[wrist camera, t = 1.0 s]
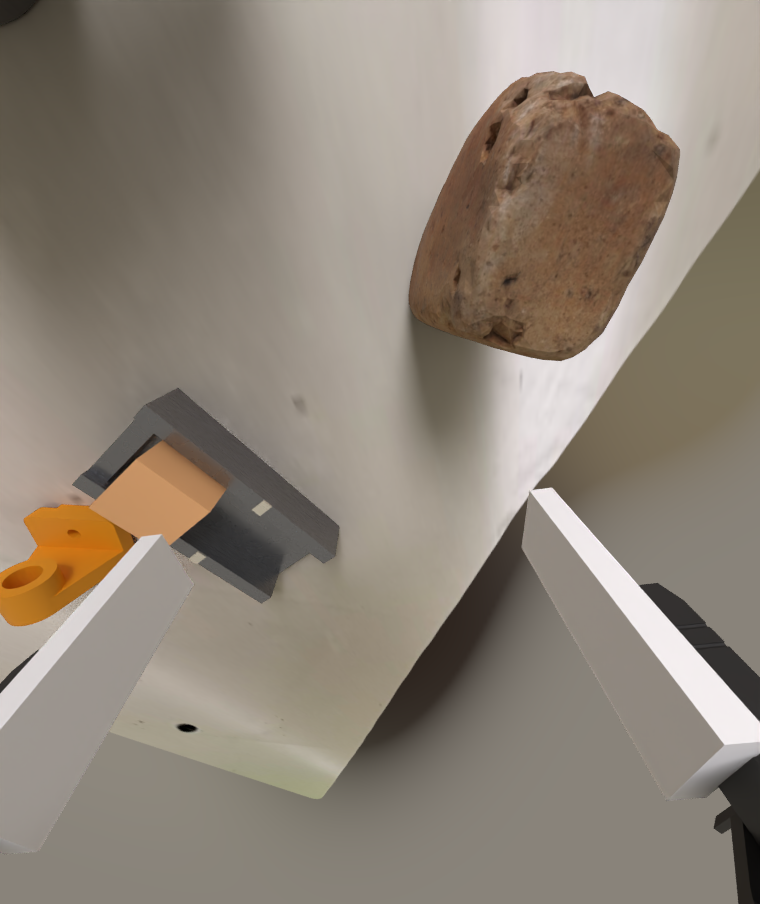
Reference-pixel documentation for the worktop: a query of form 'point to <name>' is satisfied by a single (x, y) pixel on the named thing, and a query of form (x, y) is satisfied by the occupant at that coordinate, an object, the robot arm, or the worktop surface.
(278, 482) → the chute
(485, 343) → the block
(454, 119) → the worktop surface
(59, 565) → the bracket
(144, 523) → the slider block
